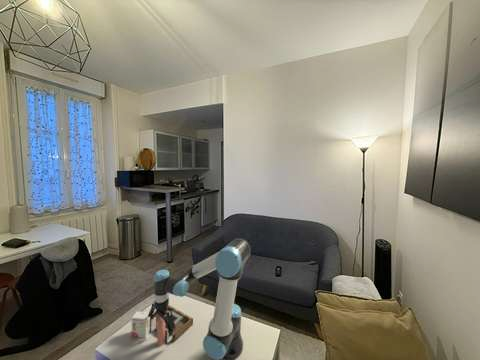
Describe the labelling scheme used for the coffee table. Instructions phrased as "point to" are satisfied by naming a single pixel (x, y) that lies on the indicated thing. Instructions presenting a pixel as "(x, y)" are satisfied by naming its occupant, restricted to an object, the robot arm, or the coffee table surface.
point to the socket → (176, 319)
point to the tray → (182, 327)
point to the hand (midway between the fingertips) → (161, 334)
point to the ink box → (140, 324)
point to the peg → (160, 332)
